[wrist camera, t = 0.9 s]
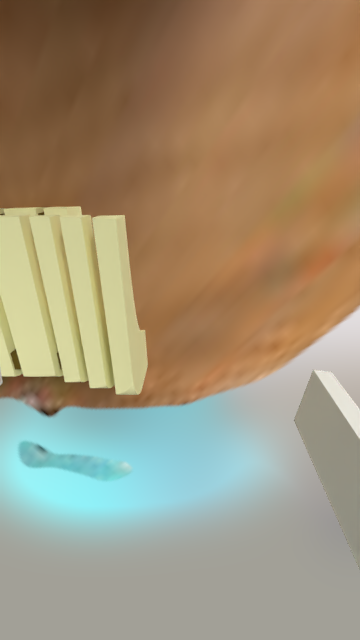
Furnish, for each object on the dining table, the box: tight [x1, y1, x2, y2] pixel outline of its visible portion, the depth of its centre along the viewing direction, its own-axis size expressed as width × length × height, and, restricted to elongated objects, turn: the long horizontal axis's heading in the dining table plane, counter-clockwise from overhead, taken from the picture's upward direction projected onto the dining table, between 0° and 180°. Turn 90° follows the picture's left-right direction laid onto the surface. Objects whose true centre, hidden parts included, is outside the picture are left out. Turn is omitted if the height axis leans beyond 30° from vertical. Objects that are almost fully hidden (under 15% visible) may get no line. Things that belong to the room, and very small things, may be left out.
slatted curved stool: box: [0, 206, 148, 395], centre depth 31 cm, size 30×16×18 cm, turn 91°
